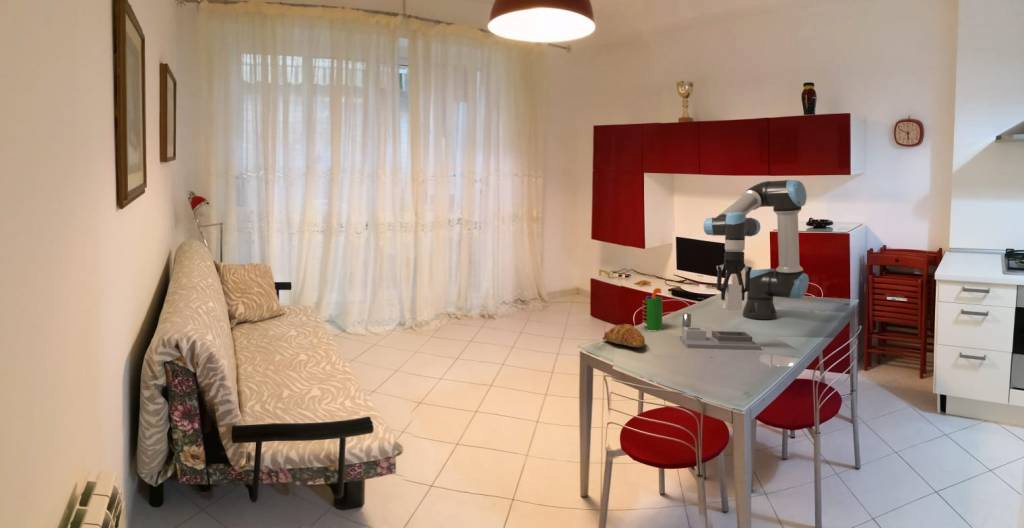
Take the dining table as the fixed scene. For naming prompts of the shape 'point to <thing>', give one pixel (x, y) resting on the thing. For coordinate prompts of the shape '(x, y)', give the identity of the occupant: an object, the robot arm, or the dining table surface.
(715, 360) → the dining table surface
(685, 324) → the rounded metal cylinder
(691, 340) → the stand
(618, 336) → the pastry
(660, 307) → the motor
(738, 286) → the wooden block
